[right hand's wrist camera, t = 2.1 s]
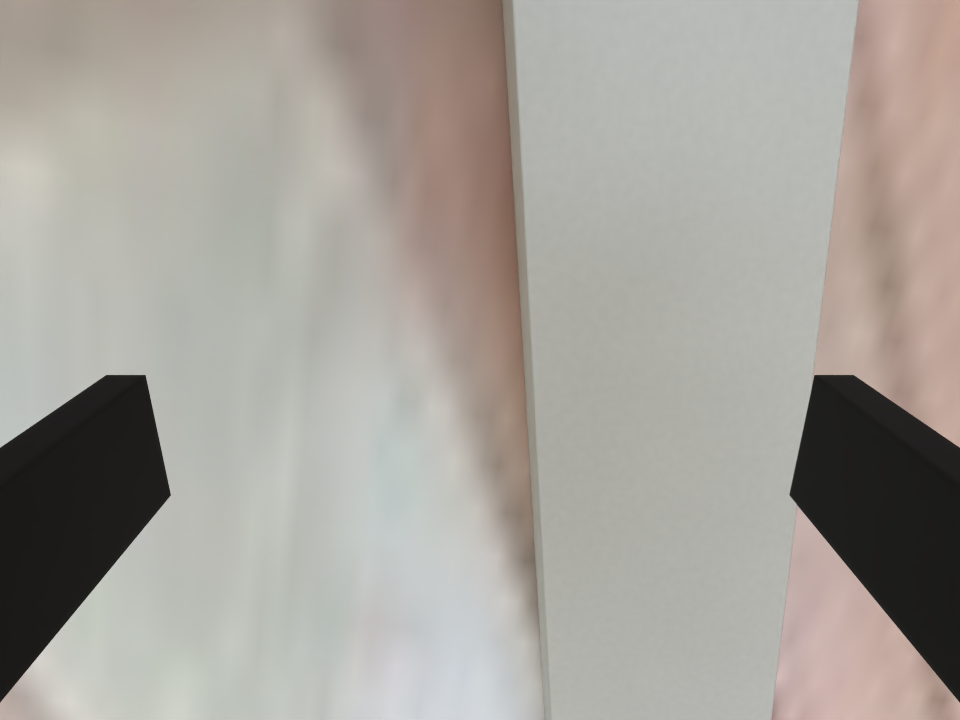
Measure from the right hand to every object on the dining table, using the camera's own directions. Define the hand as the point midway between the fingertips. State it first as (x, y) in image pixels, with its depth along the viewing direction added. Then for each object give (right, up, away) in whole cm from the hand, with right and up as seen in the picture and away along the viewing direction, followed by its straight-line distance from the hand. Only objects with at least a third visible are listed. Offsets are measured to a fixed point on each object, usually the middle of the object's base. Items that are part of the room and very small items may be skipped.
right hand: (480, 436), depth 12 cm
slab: (+8, -12, +23) cm, 27 cm away
